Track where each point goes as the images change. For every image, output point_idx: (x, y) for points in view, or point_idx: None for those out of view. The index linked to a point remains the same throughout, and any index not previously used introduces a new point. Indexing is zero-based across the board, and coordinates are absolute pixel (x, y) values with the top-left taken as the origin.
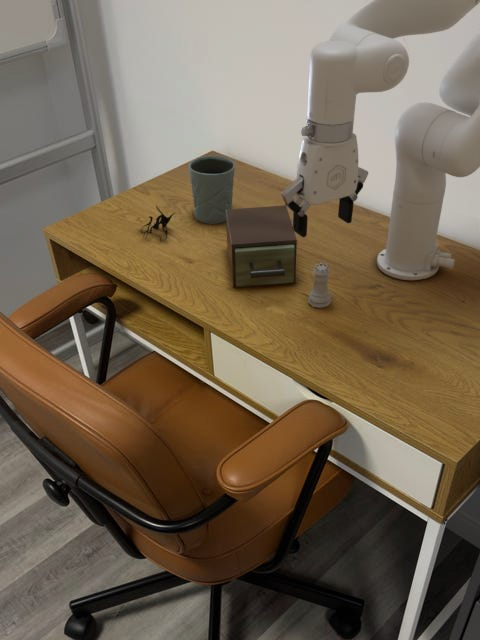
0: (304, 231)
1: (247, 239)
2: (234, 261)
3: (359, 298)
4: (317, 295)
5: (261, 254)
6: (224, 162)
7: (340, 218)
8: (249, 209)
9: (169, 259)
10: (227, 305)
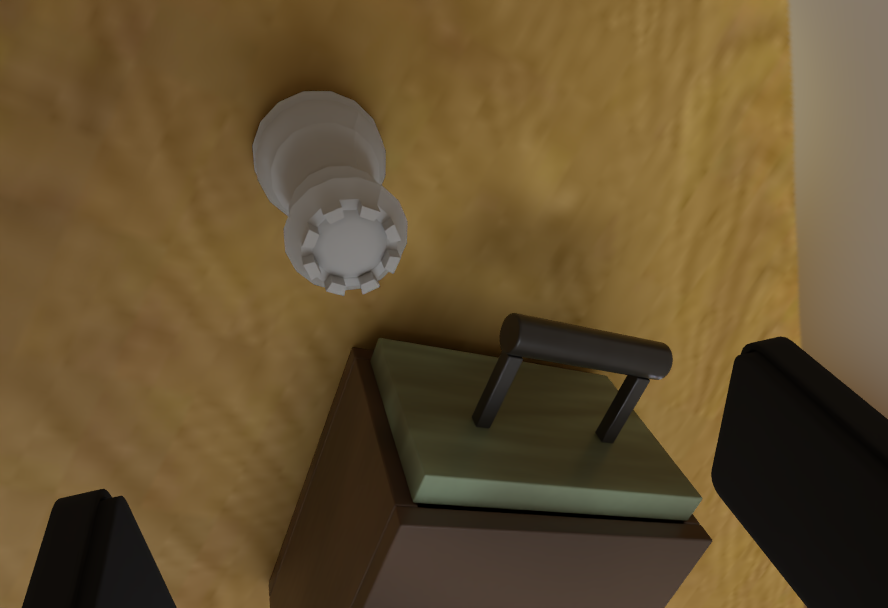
0: (825, 373)
1: (628, 565)
2: None
3: (59, 97)
4: (362, 144)
5: (580, 468)
6: None
7: (167, 592)
8: None
9: None
10: (683, 284)
